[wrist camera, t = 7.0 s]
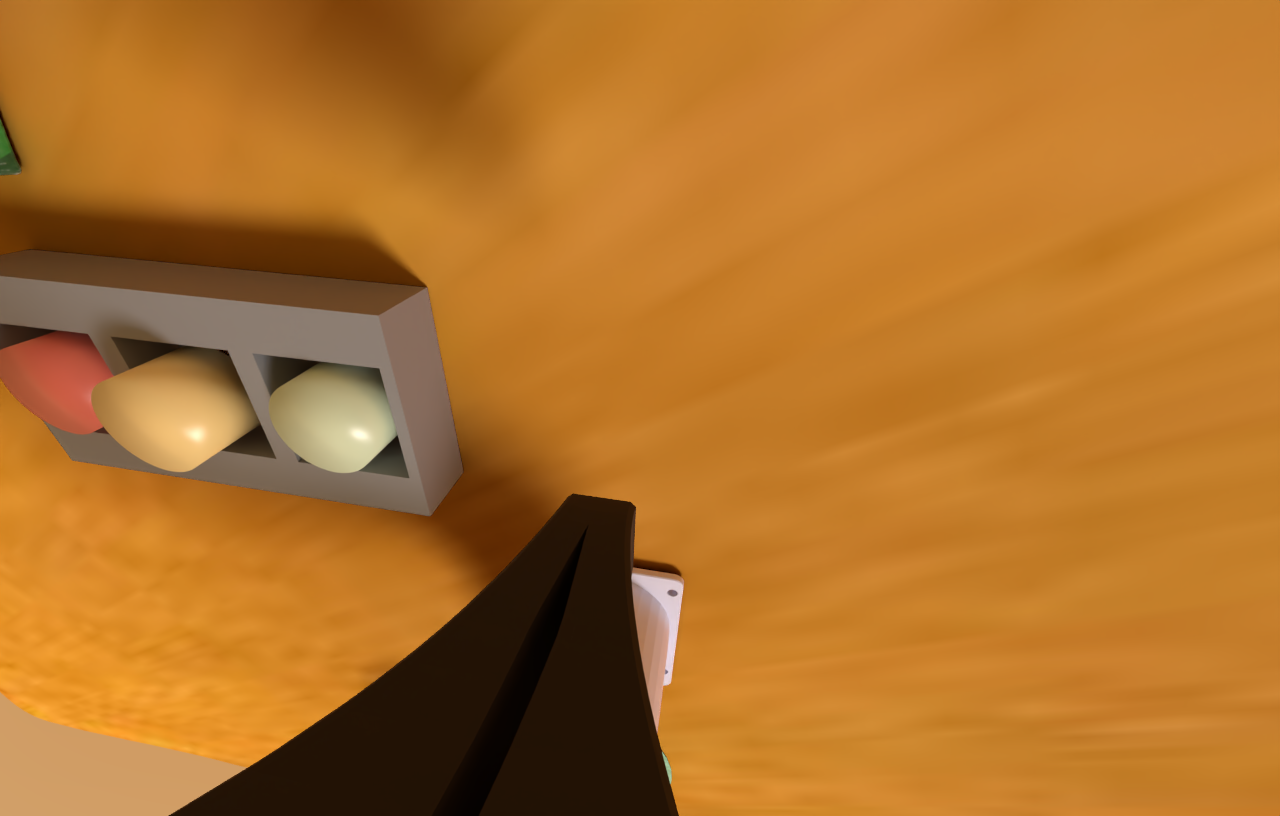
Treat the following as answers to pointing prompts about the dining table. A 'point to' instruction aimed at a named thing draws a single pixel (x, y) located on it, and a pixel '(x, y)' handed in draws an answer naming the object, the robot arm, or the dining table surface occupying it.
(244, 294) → the grey compartment tray
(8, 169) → the chalk box
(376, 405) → the sage button
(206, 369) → the ochre button
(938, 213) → the dining table surface
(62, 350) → the red button
